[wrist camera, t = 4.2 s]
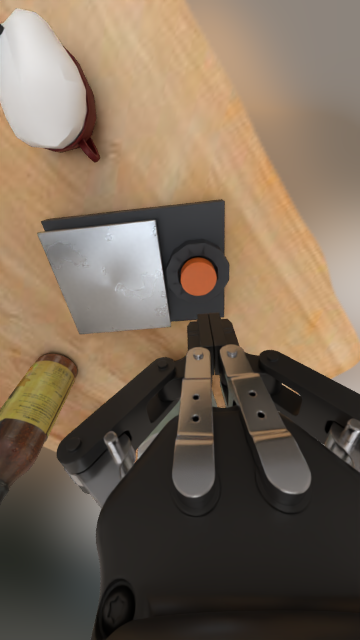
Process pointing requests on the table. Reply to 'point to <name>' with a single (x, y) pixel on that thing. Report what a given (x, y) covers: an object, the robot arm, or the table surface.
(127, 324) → the weighing plate
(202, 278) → the power button
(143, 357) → the table surface
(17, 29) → the cocoa
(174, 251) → the scale
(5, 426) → the sauce bottle
